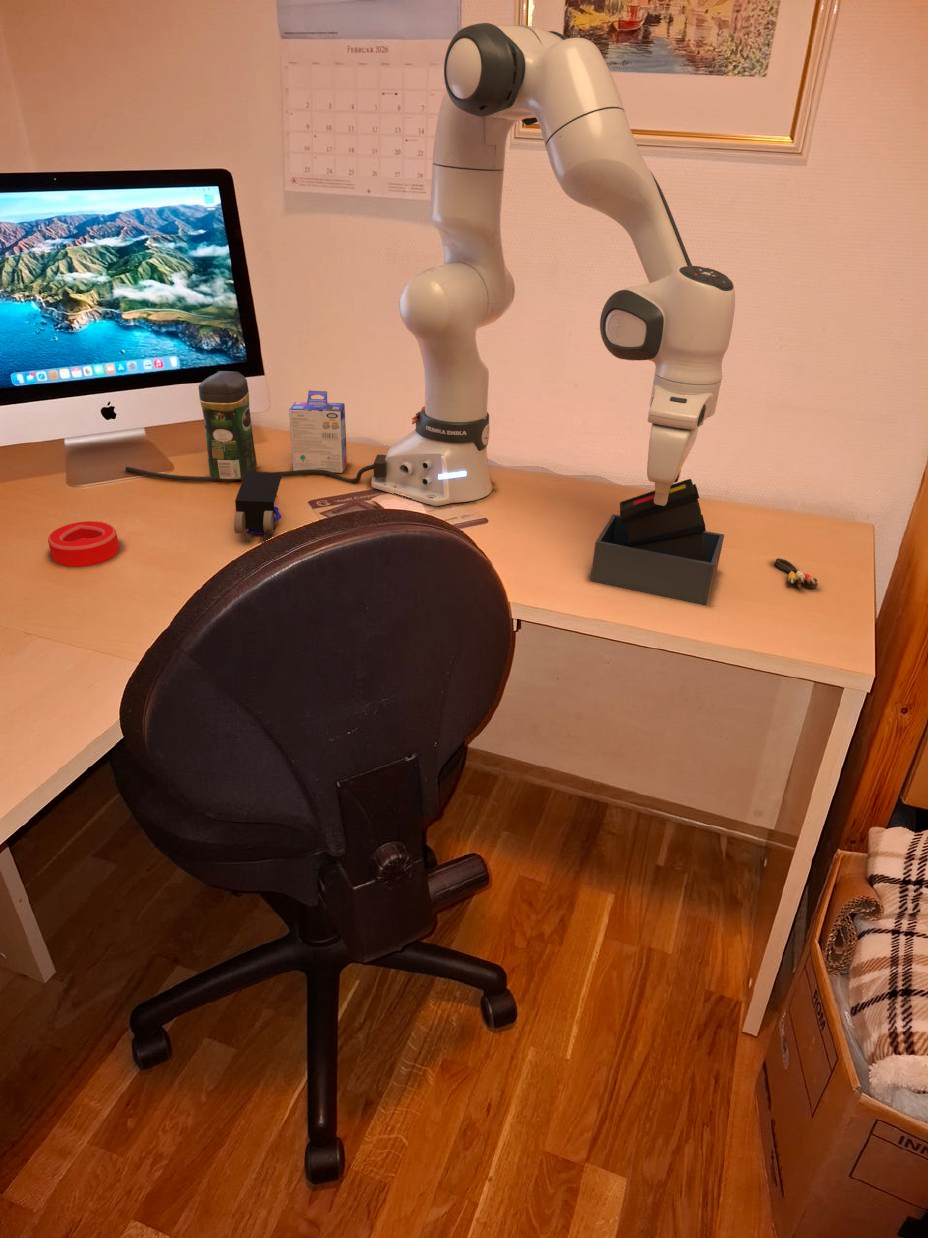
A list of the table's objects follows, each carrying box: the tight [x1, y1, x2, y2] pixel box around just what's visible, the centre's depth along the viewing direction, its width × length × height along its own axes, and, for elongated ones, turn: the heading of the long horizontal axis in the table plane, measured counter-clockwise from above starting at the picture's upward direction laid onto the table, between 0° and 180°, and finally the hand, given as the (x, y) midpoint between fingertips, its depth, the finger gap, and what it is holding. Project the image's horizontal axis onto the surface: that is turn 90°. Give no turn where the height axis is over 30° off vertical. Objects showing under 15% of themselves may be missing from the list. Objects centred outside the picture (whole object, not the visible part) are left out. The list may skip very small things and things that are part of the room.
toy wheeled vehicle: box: [233, 471, 283, 542], centre depth 138 cm, size 7×8×15 cm
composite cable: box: [774, 558, 818, 589], centre depth 130 cm, size 10×5×2 cm, turn 177°
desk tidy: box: [590, 513, 725, 606], centre depth 128 cm, size 17×11×6 cm, turn 68°
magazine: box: [619, 478, 707, 562], centre depth 126 cm, size 4×13×15 cm, turn 82°
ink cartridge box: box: [288, 390, 348, 474], centre depth 160 cm, size 10×6×14 cm, turn 89°
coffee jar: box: [198, 370, 257, 483], centre depth 155 cm, size 10×8×19 cm
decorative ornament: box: [47, 520, 120, 567], centre depth 129 cm, size 10×10×3 cm
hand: (666, 491), depth 122 cm, fingers open, 8 cm apart
